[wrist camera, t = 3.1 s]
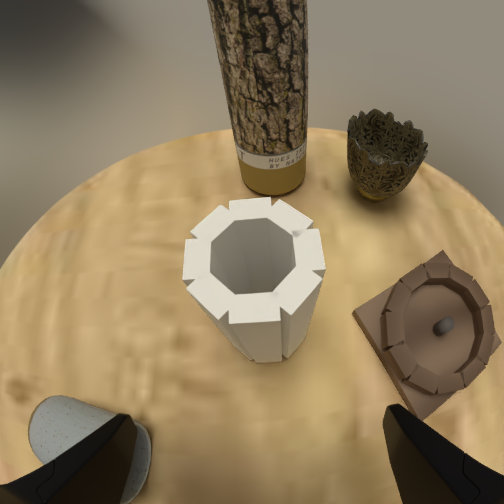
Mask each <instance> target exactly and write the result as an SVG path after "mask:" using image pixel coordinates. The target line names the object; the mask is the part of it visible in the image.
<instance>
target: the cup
mask: <svg viewBox="0 0 504 504" xmlns="http://www.w3.org/2000/svg"><path fill="white" fill-rule="evenodd" d="M393 117H394V115H393V114H392V113H391V112H388V113H387V114H385V115H384V114H383V113H382V112H381V111H379V110H377V109H373V110H371V111H370V112H369V113H368V114H367V115H365V114H364V112H363V111H360V113H359V117H358V118H357V117H356V116H354V115H353V116H352V117H351V120H349V125H348V130H347V132H348V139H347V161H348V168H349V172H350V175H351V177H352V179H353V181H354V182H355V183H356V185H357V189H358V191H359V193H360V194H361V196H362V197H364V198H365V199H367V200H369V201H372V202H380V201H383V200H384V199H386V198H387V197H388V196H393V195H395V194H397V193H399V192H401V191H402V190H403V189H404V188H405V187H406V186H407V185H408V183H409V182H410V181H411V179H412V178H413V176H414V175H415V173H416V171H417V170H418V168H419V166H420V165H421V163H422V161H423V160H424V158H425V157H426V155H427V152H428V151H427V150H426V148H427V146H428V143H426V142H424V143H423V140H424V136H423V131H422V130H420V129H414V128H413V124H412V122H411V121H410V120H408V121H406V122H405V123H404V124H405V125H401V123H400V122H399V121H398V122H395V121H394V118H393Z"/></svg>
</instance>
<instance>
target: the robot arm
mask: <svg viewBox="0 0 504 504" xmlns="http://www.w3.org/2000/svg"><path fill="white" fill-rule="evenodd" d="M383 429H384V434H385V439H386V444H387V450H388V455H389V460H390V464H391V467H392V470H393V473H394V477H395V480H396V483H397V486H398V490H399V493H400V496H401V500H402V503H403V504H504V475H502V474H500V473H498V472H496V471H494V470H492V469H490V468H488V467H486V466H485V465H483V464H481V463H480V462H478V461H477V460H475V459H474V458H472V457H471V456H469V455H468V454H467V453H465V454H464V451H462V450H461V449H459V448H458V447H457V446H455V445H454V444H453V443H451V442H450V441H448V440H447V439H446V438H444V437H443V436H442V435H440V434H439V433H438V432H436V431H435V430H434V429H432V428H431V427H429V426H428V425H427V424H425V423H424V422H423V421H421V420H420V419H419V418H417V417H416V416H415V415H413V414H412V413H411V412H410V411H408V410H407V409H406V408H404V407H403V406H402V405H400V404H393V405H389V406H387V408H386V411H385V415H384V418H383ZM137 433H138V431H137V427H136V426H135V424H134V422H133V420H132V418H131V416H130V415H128V414H123V413H119V414H117V415H116V416H114V417H113V418H112V419H110V420H109V421H107V422H106V423H105V424H103V425H102V426H101V427H99V428H98V429H96V430H95V431H94V432H92V433H91V434H89V435H88V436H86V437H85V438H84V439H82V440H81V441H79V442H78V443H76V444H75V445H74V446H72V447H71V448H69V449H68V450H66V451H65V452H63V453H62V454H60V455H59V456H57V457H56V458H55V459H53V460H51V461H50V462H48V463H47V464H45V465H43V466H42V467H40V468H39V469H37V470H35V471H33V472H31V473H29V474H27V475H25V476H23V477H21V478H19V479H17V480H15V481H12V482H10V483H8V484H3V485H0V504H120V502H121V498H122V495H123V492H124V488H125V485H126V482H127V478H128V475H129V472H130V469H131V465H132V460H133V455H134V449H135V444H136V439H137Z"/></svg>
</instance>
